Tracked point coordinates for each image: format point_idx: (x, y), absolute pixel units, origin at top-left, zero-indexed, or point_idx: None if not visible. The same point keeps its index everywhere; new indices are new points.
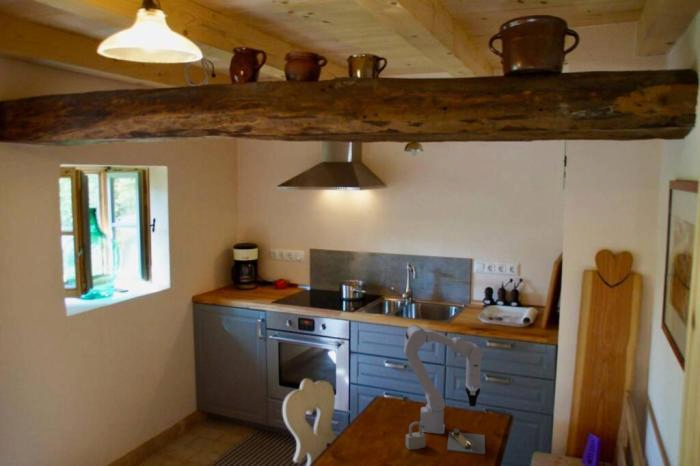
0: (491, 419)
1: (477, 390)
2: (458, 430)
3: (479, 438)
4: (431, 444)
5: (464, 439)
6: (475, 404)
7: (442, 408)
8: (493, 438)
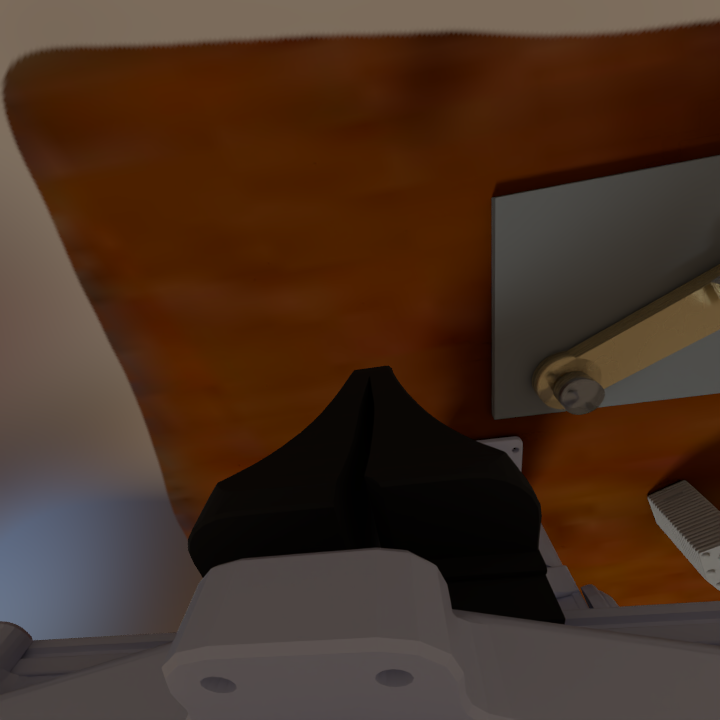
0: (165, 197)
1: (404, 529)
2: (594, 385)
3: (566, 226)
4: (649, 461)
5: (664, 322)
6: (391, 373)
7: (614, 601)
8: (512, 115)
